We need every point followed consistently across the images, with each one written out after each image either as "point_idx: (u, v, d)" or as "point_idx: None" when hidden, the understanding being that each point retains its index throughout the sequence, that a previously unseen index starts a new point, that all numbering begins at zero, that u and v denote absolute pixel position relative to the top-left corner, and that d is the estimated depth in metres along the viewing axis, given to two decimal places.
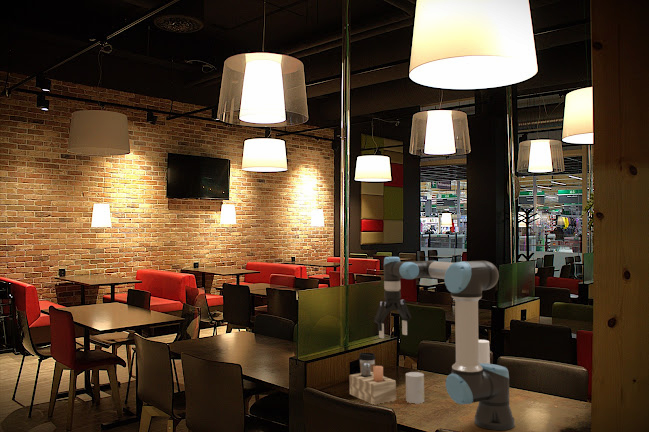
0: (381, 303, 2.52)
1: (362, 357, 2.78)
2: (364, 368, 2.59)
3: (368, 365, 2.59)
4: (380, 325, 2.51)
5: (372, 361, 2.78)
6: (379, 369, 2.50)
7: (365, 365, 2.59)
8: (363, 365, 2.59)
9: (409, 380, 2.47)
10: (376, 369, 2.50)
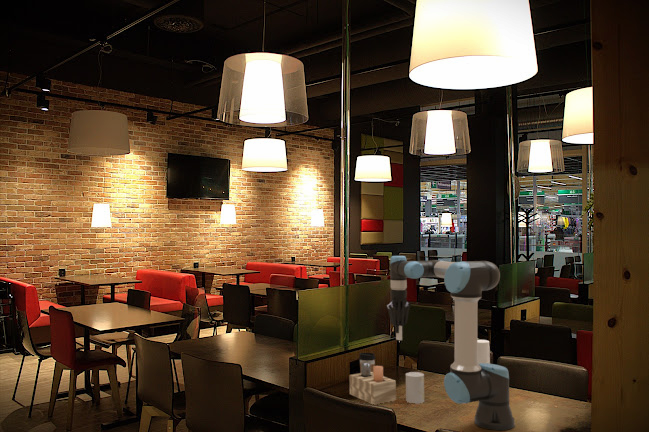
0: (388, 307, 2.55)
1: (362, 357, 2.78)
2: (364, 368, 2.59)
3: (368, 365, 2.59)
4: (397, 327, 2.56)
5: (372, 361, 2.78)
6: (379, 369, 2.50)
7: (365, 365, 2.59)
8: (363, 365, 2.59)
9: (409, 380, 2.47)
10: (376, 369, 2.50)
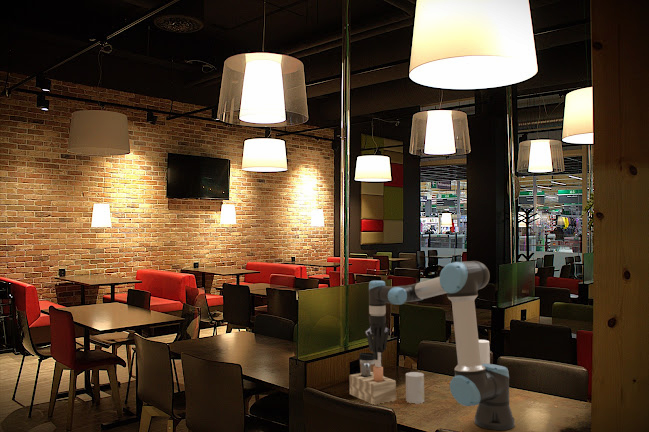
0: (367, 333, 2.49)
1: (362, 357, 2.78)
2: (364, 368, 2.59)
3: (368, 365, 2.59)
4: (376, 354, 2.51)
5: (372, 361, 2.78)
6: (379, 369, 2.50)
7: (365, 365, 2.59)
8: (363, 365, 2.59)
9: (409, 380, 2.47)
10: (376, 369, 2.50)
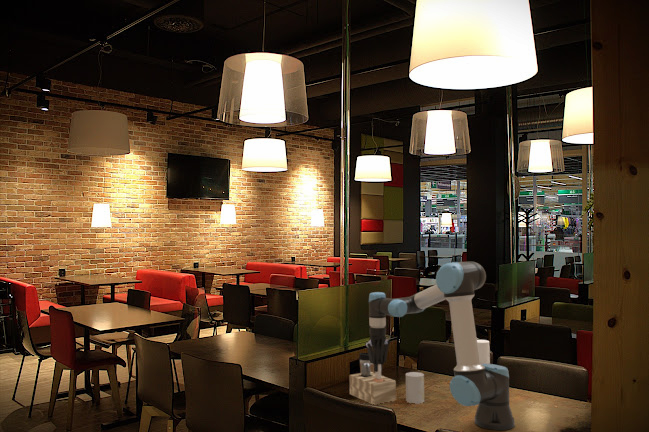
0: (367, 345, 2.49)
1: (362, 357, 2.78)
2: (364, 368, 2.59)
3: (368, 365, 2.59)
4: (376, 366, 2.51)
5: None
6: (379, 381, 2.50)
7: (365, 365, 2.59)
8: (363, 365, 2.59)
9: (409, 380, 2.47)
10: (376, 381, 2.50)
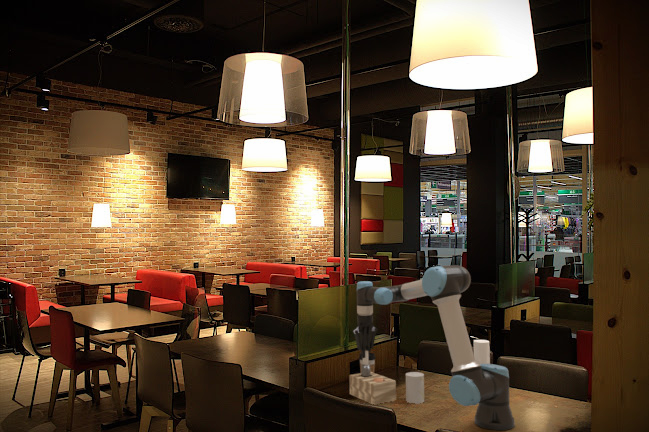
0: (355, 332, 2.58)
1: None
2: (364, 370, 2.59)
3: (368, 367, 2.59)
4: (363, 352, 2.60)
5: (372, 361, 2.78)
6: (379, 381, 2.50)
7: (365, 367, 2.59)
8: (363, 367, 2.59)
9: (409, 380, 2.47)
10: (376, 381, 2.50)
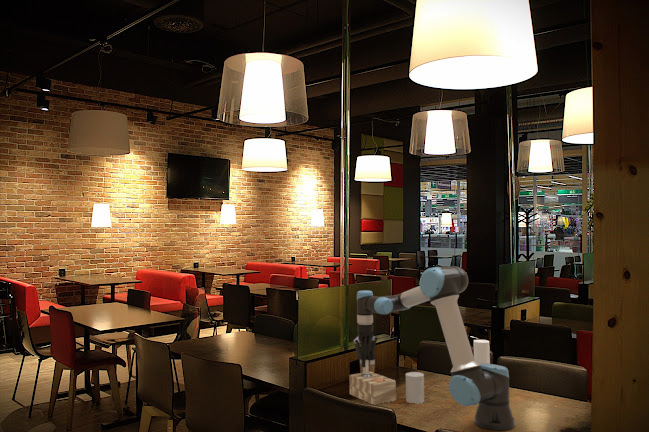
0: (355, 342, 2.58)
1: None
2: None
3: None
4: (364, 362, 2.60)
5: (372, 361, 2.78)
6: (379, 381, 2.50)
7: None
8: None
9: (409, 380, 2.47)
10: (376, 381, 2.50)
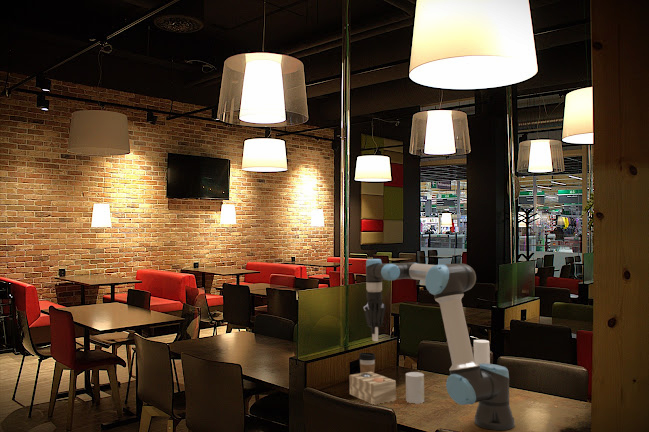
0: (364, 309, 2.61)
1: (362, 357, 2.78)
2: None
3: None
4: (373, 328, 2.63)
5: (372, 361, 2.78)
6: (379, 381, 2.50)
7: None
8: None
9: (409, 380, 2.47)
10: (376, 381, 2.50)
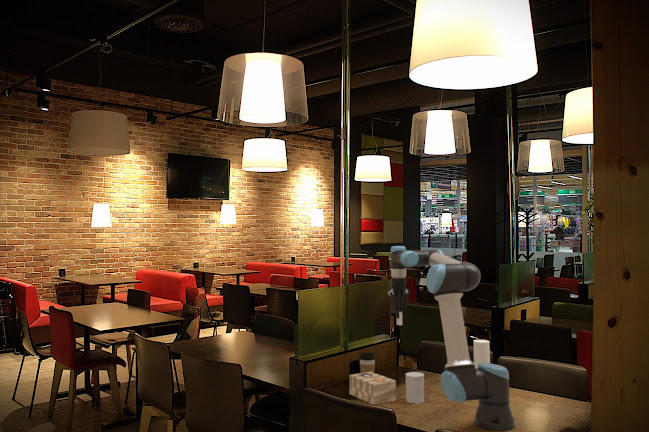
0: (389, 294, 2.71)
1: (362, 357, 2.78)
2: None
3: None
4: (397, 313, 2.73)
5: (372, 361, 2.78)
6: (379, 381, 2.50)
7: None
8: None
9: (409, 380, 2.47)
10: (376, 381, 2.50)
